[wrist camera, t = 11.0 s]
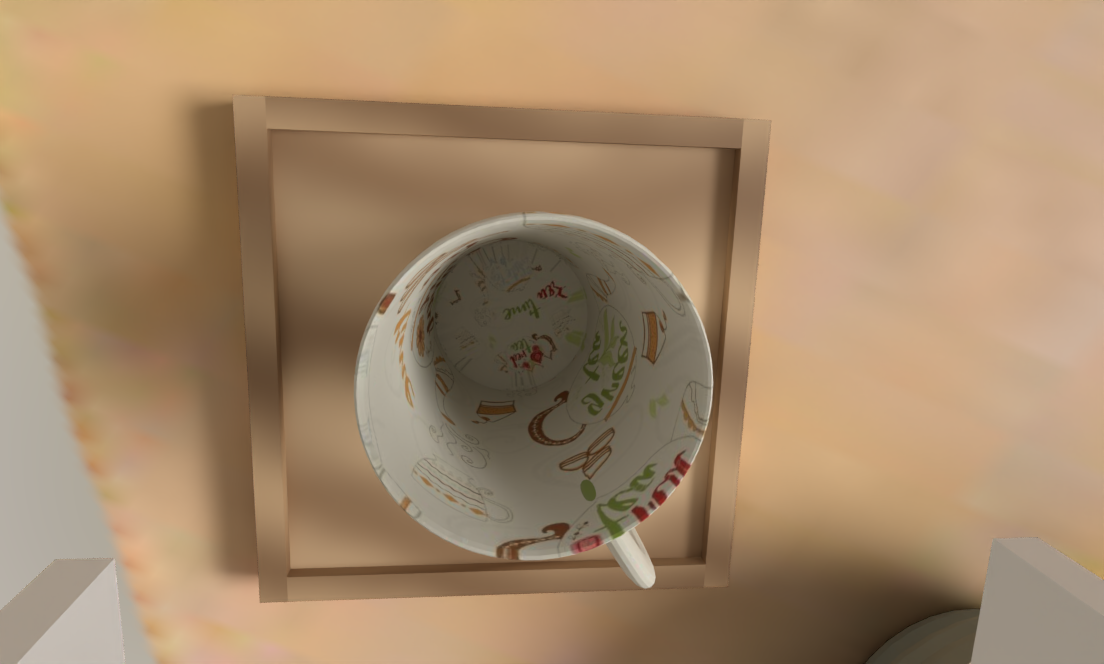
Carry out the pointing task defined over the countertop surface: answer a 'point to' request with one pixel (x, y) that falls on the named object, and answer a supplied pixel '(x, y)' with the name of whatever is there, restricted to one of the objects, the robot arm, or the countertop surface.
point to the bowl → (932, 641)
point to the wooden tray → (402, 234)
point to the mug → (534, 388)
